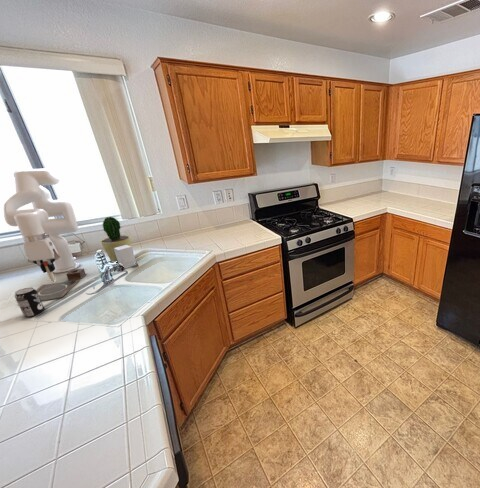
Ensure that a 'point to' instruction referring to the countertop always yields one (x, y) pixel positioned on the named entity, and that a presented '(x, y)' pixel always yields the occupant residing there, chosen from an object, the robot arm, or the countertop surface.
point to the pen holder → (76, 274)
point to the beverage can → (29, 302)
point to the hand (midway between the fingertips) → (49, 271)
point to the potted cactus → (113, 237)
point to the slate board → (55, 290)
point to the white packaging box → (125, 256)
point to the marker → (49, 272)
